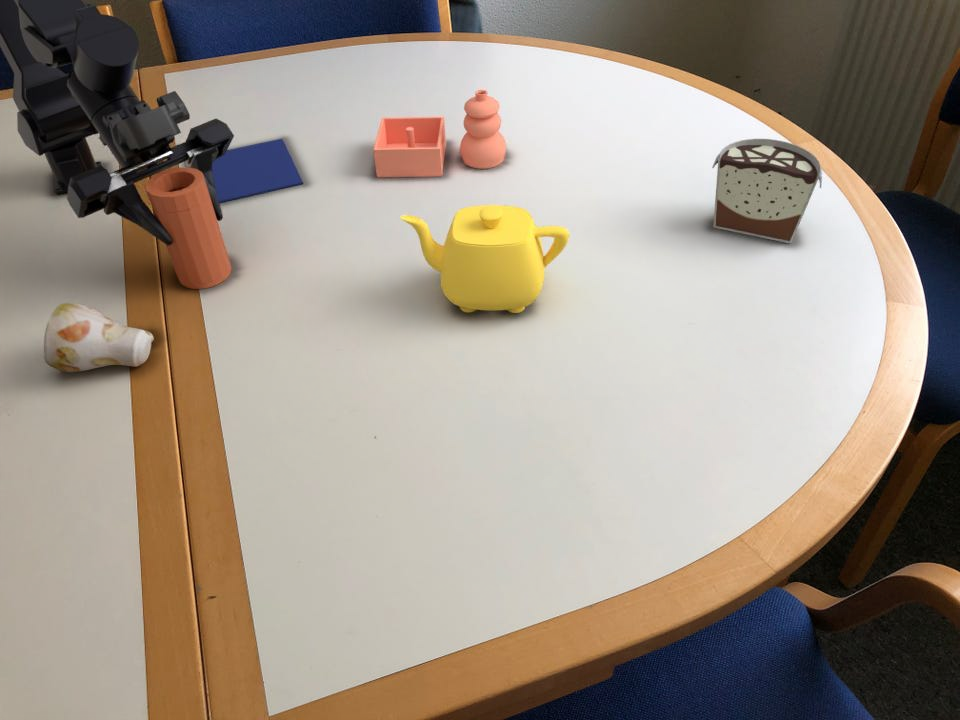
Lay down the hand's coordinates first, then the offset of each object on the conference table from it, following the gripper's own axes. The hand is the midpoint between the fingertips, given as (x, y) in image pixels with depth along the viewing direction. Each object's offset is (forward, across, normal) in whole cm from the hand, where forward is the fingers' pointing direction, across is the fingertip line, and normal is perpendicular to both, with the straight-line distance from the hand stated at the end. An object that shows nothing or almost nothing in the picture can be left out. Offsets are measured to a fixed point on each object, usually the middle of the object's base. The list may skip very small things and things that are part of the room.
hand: (196, 231), depth 90 cm
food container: (+34, +52, -25) cm, 68 cm away
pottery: (+5, +38, +4) cm, 39 cm away
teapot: (+24, +20, -14) cm, 34 cm away
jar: (+4, 0, +6) cm, 7 cm away
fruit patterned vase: (+8, -15, +2) cm, 17 cm away
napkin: (-8, +17, +18) cm, 26 cm away
